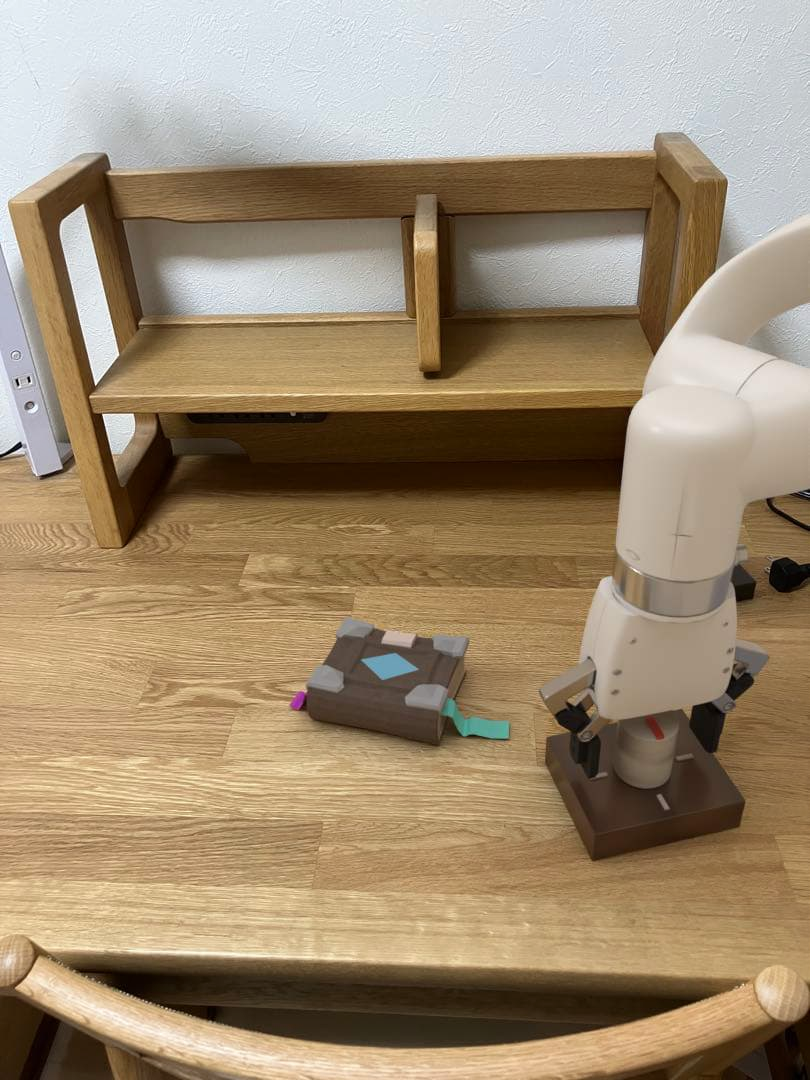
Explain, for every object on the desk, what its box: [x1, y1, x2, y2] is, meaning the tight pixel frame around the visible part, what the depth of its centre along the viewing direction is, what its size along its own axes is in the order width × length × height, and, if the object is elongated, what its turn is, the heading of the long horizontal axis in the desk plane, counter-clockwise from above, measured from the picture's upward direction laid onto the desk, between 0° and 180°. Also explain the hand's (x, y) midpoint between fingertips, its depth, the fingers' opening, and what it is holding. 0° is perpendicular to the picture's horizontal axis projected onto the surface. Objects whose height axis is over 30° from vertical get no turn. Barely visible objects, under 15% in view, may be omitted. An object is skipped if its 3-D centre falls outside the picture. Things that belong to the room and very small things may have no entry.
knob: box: [613, 710, 679, 789], centre depth 68 cm, size 4×4×6 cm
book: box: [288, 616, 510, 746], centre depth 81 cm, size 20×12×5 cm, turn 72°
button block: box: [731, 564, 757, 603], centre depth 93 cm, size 10×8×4 cm
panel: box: [544, 708, 747, 862], centre depth 71 cm, size 12×10×3 cm
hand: (644, 751), depth 69 cm, fingers open, 9 cm apart
